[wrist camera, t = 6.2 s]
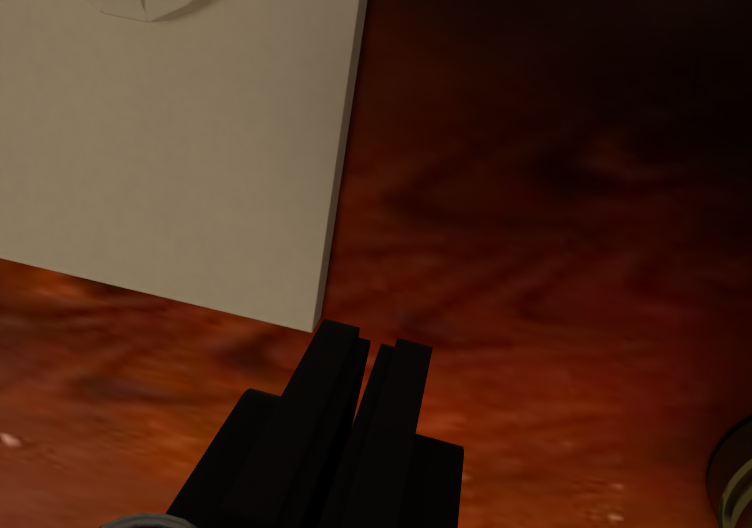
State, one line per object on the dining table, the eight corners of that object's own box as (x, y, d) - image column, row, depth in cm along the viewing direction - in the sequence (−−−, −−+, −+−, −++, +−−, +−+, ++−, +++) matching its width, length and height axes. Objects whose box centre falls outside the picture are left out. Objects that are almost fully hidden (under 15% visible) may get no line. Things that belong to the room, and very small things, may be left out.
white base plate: (-27, -214, 21) (-103, -244, 19) (389, -147, 20) (371, -167, 17) (8, 242, 28) (-45, 270, 26) (321, 316, 27) (300, 354, 24)
